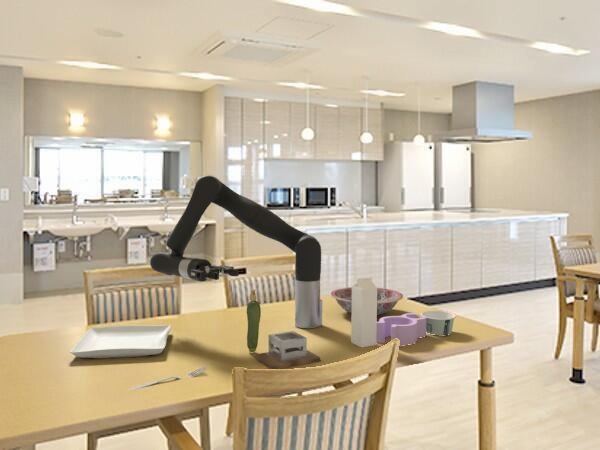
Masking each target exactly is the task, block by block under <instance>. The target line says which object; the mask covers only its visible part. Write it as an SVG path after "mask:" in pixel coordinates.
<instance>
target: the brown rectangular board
mask: <svg viewBox="0 0 600 450" xmlns="http://www.w3.org/2000/svg"><path fill="white" fill-rule="evenodd" d="M300 347H301V346H300ZM286 353H287V352H286ZM254 358H255V360H257V361H259V362H260V363H261V364H263V365H264V366H266V367H267V368H268V369H270V370H271V369H276V370H280V369H279V368H281V369H285V368H286V369H287V368H289V367H296V366H300V365H305V364H310V363H315V362H316V363H317V362H321V359H322V358H321V357H320V356H318V355H317V354H315V353H314V352H311V351H310V350H308V349H307V358H303V359H298V360H292V361H287V362H282V363H281V362H280V361H278V360H277V359H275V358H274V357H272V356H271V355H269V351H266V352H261V353H255V354H254Z"/></svg>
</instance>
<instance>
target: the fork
mask: <svg viewBox="0 0 600 450" xmlns="http://www.w3.org/2000/svg"><path fill="white" fill-rule="evenodd" d="M207 369H208V368H207V367H205V366H204V365H203V366H202V367H200V368H197V369H195V370H193V371H191V372H189V373H186V374H185V376H187V377H188V378H191V379H192V378H195V377H197V376H198V375H200V374H202V373H203V372H204V373H205V371H206V370H207ZM169 379H179V380H183V379H184V378H183V377H181V376H168V377H164V378H162V379H160V380H159V379H158V380H156V381H153V382H148V383H145V384H141V385H137V386H133V387H131V388H128V391H129V390H131V391H132V390H139V389H142V388H146V387H147V388H148V387H150V386H153V385H155V384H158V383H162V382H163V381H166V380H169Z"/></svg>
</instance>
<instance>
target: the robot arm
mask: <svg viewBox="0 0 600 450" xmlns="http://www.w3.org/2000/svg"><path fill="white" fill-rule="evenodd" d="M211 203H212V204H215V205H216V206H218V207H221V208H222V209H224V210H226V211H227V212H229V213H230V214H231V215H232V216H233V217H234V218H235V219H237V220H239V222H241V223H242V224H243V225H245V226H246V227H248V228H249V229H250V230H253V231H255V232H256V233H258V234H259V235H262V236H264V237H266V238H269V239H270V240H274V241H276V242H279V243H280V244H282V245H283V246H285V247H287V248H288V249H289V250H291V251H292V252H294V253H295V273H294V275H295V276H294V278H295V279H294V283H295V284H294V286H295V287H294V288H295V291H294V298H295V299H294V325H295V327H297V328H300V329H301V328H302V329H314V328H319V327H320V326H323V300H322V299H321V273H322V246H321V244H320V242H319V241H318V239H317V238H316V237H314V236H312V235H311V234H307V233H305V232H303V231H301V230H300V229H297V228H295V227H294V226H292V225H291V224H289V223H287V222H286V221H285V220H283V219H282V218H281V217H280V216H278V215H277V214H276V213H274V212H272V211H271V210H270V209H268V208H267V207H264V206H263V205H261V204H259V203H258V202H256V201H254V200H252V199H250V198H249V197H245V196H243V195H240V193H238V192H235V191H234V190H233V189H231V188H230V187H228V186H227V185H226V184H225V183H223V182H222V181H221V180H220V179H218V178H217V177H216V176H214V175H207V174H206V175H203V176H201V177H200V178H198V179H196V182H195V185H194V188H193V191H192V194H191V197H190V200H189V202H188V203H187V206H186V208H185V209H184V212H183V213H182V215H181V216H180V218H179V220H178V221H177V222H176V225H175V226H174V228H173V229H172V231H171V233H170V235H169V236H168V238H167V241H166V243H165V244H166V246H167V248H168V249H170V250H171V253H166V252H162V251H159V252H157V253H154V254H153V255H152V256H151V258H150V260H149V264H150V265H149V266H150V267H151V268H152V270H153V271H154V272H157V273H161V274H164V275H167V276H175V277H180V278H183V279H184V278H185V279H188V280H192V281H195V282H196V281H197V282H206V281H208V280H215V281H216V280H217V281H218V280H220V277H222V278H224V276H231V277H239V269H236V268H234V267H235V266H230V265H223V264H221V265H220V264H219V265H216V264H211V262H210V261H209V260H208V259H205V258H199V257H193V256H192V257H187V256H184V254H185V250H186V248H187V246H188V244H189V243H190V241H191V239H192V237H193V236H194V234H195V232H196V229H197V227H198V224H199V223H200V221H201V218H202V217H203V215H204V213H205V212H206V210H207V209H208V207H210V205H211Z"/></svg>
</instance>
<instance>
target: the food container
mask: <svg viewBox="0 0 600 450" xmlns="http://www.w3.org/2000/svg"><path fill="white" fill-rule="evenodd" d="M422 315H425V316H426V332H427V333H430V334H435V335H448V334H451V335H452V331H453V326H454V322H455V319H456V316H457V315H456V314H454V313H452V312H449V311H444V310H424V311H422V312H421V313H420V316H421V317H422Z"/></svg>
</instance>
